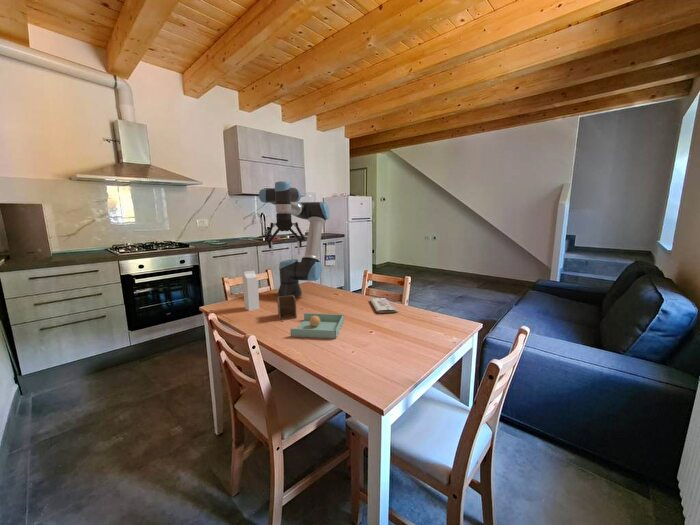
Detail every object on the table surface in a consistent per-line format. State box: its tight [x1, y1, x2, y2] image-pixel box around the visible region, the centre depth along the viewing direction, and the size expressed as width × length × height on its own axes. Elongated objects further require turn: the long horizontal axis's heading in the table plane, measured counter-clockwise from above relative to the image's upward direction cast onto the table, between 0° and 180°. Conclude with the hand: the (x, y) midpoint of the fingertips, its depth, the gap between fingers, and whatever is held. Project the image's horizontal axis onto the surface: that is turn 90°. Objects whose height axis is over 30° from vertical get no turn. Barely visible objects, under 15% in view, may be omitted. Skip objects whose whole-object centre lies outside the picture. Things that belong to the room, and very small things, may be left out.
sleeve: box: [276, 295, 298, 321], centre depth 146 cm, size 8×8×10 cm
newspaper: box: [369, 297, 399, 314], centre depth 162 cm, size 23×12×2 cm, turn 7°
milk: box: [242, 269, 260, 312], centre depth 157 cm, size 6×6×22 cm
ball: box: [309, 316, 320, 327], centre depth 133 cm, size 5×5×5 cm
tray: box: [289, 312, 345, 340], centre depth 131 cm, size 20×20×4 cm
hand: (285, 254), depth 149 cm, fingers open, 13 cm apart
